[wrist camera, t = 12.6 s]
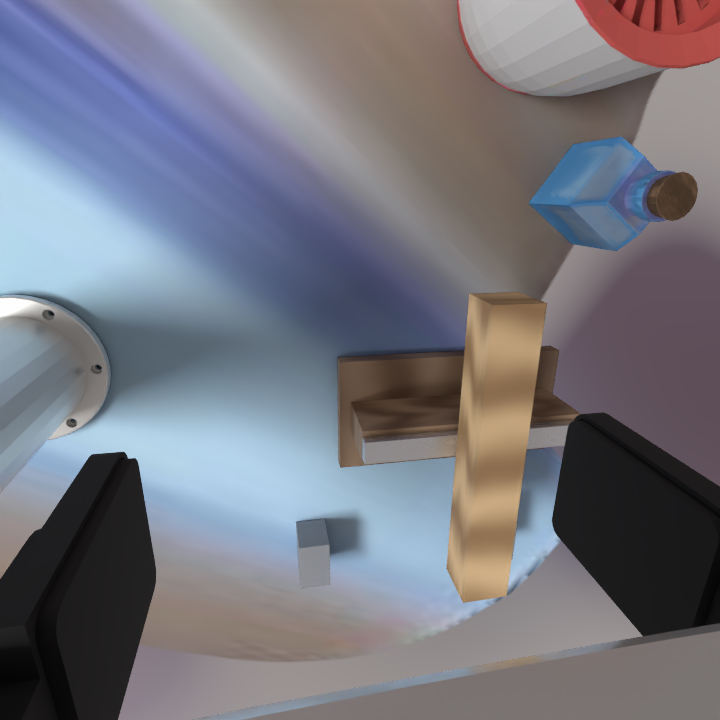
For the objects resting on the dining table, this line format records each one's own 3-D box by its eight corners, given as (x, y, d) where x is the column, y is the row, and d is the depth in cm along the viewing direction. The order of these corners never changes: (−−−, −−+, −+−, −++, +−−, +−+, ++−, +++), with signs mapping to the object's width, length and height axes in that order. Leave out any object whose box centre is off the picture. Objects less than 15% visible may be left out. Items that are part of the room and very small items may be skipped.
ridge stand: (338, 459, 48) (352, 511, 40) (337, 357, 45) (352, 392, 37) (536, 441, 52) (584, 485, 44) (550, 345, 48) (606, 375, 41)
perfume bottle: (615, 188, 44) (732, 186, 33) (571, 243, 45) (671, 260, 34) (573, 144, 42) (683, 126, 31) (528, 203, 43) (619, 206, 32)
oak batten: (469, 293, 36) (493, 305, 32) (518, 292, 36) (546, 303, 33) (446, 568, 44) (463, 602, 41) (486, 562, 45) (506, 596, 41)
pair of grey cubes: (297, 560, 51) (300, 588, 48) (296, 521, 50) (298, 548, 46) (495, 534, 55) (512, 559, 52) (500, 498, 54) (517, 521, 50)
